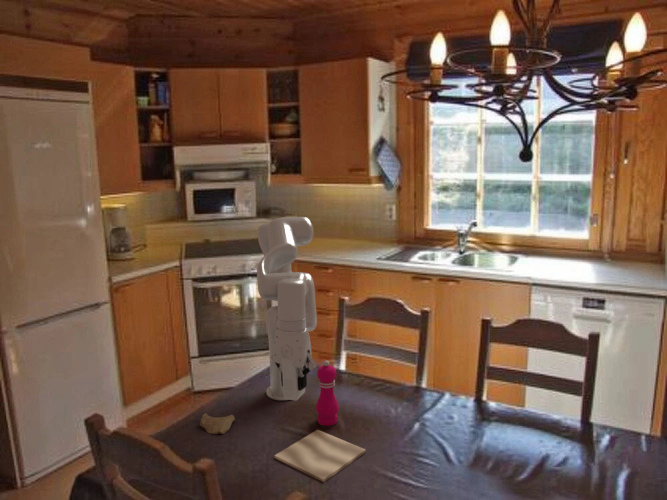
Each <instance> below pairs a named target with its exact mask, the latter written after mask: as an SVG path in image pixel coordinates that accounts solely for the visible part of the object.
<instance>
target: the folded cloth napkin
mask: <svg viewBox="0 0 667 500" xmlns="http://www.w3.org/2000/svg"><path fill="white" fill-rule="evenodd" d="M366 452H367V450H366V448H363V447H360V446H358V445H356V444H353V443H351V442H348V441H346V440H344V439H341V438H339V437H336V436H334V435H332V434H329V433H326V432H324V431H322V430H320V429H316V430H315V431H313V432H311V433H309V434H308V435H306V436H304V437H303V438H301V439H300V440H297V441H296V442H294V443H293V444H291V445H290V446H288V447H287V448H284V449H282V451H279V452H277V453H276V454H274V459H276V460H278V461H279V462H282V463H284V464H286V465H288V466H290V467H292V468H294V469H296V470H298V471H300V472H302V473H304V474H306V475H308V476H310V477H312V478H315V479H316V480H319V481H321V482H322V483H325V482H326V481H327V480H329V479H330V478H331V477H334V476H335V475H336V474H338V473H339V472H340V471H342V470H343V469H344V468H346V467H347V466H348V465H350V464H351V463H353V462H354V461H355V460H357V459H358V458H360V457H361V456H363V455H364V454H366Z"/></svg>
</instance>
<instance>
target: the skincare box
mask: <svg viewBox="0 0 667 500" xmlns="http://www.w3.org/2000/svg"><path fill="white" fill-rule="evenodd" d="M292 363H293V360H291V359H287V358H282V376H283V398H284V399H289V400H291V401H295V402H296V401H298V400H299V399H300V398H301V397H302V396H303V395H304V393H306V387H305V388H304V389H302V390H301V391H299V390H298V377H299V376H300V375H299V371H298V368H296V367H293V366H292ZM302 368H303V367H302ZM289 400H288V401H289Z"/></svg>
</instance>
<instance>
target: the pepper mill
mask: <svg viewBox="0 0 667 500" xmlns="http://www.w3.org/2000/svg"><path fill="white" fill-rule="evenodd" d="M316 376H317V379H318V386H319V387H320V391H319V397H318V399H317V401H316V404H315V411H316V413H317V414H318V415H317V424H319V425H321V426H324V427H329V426H334V425H335V424H337V423H338V413H339V411H340V406H339V402H338V400H337V398H336V396H335V393H334V392H335V390H334V387H335V385H336V383H335V382H336V380H335V379H336V378H337V369H336V368H335V366H333V365H332V364H330V361H329V360H324V362H323V365H320V366H319V368H317V371H316Z"/></svg>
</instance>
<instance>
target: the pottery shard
mask: <svg viewBox="0 0 667 500" xmlns="http://www.w3.org/2000/svg"><path fill="white" fill-rule="evenodd" d="M235 420H236V418H235V415H233V414H230V415H227V416H222V417H213V416H210V415H209V414H207V413H206V412H205V413H203V415H202V416H201V418H200V422H199V426H200V427H201V428H203V429H204V430H205V431H206V432H207V434H213V435H218V434H222V435H224V434H226V433H227V432H228V431H229V430H230V428H231V426H232V424H233V422H235Z"/></svg>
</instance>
